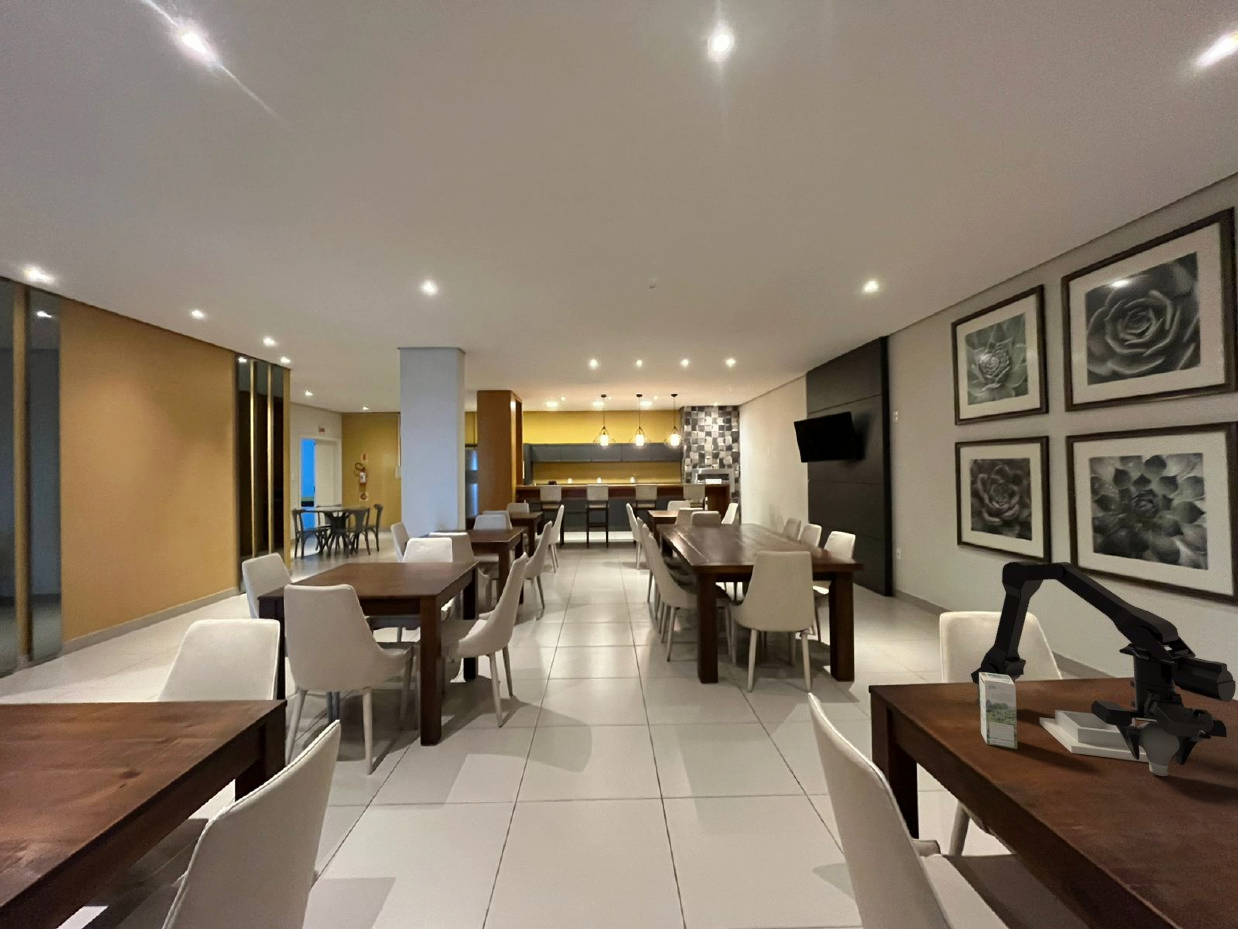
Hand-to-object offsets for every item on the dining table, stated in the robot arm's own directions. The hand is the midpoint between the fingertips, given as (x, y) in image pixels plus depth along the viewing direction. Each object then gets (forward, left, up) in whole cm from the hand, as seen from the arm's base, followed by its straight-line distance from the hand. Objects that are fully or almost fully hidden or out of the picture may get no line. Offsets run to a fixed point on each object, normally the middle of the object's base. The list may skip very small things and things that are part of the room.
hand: (1158, 761), depth 101 cm
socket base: (-5, +12, -2) cm, 13 cm away
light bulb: (0, 0, -3) cm, 3 cm away
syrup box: (-25, +6, -3) cm, 26 cm away
